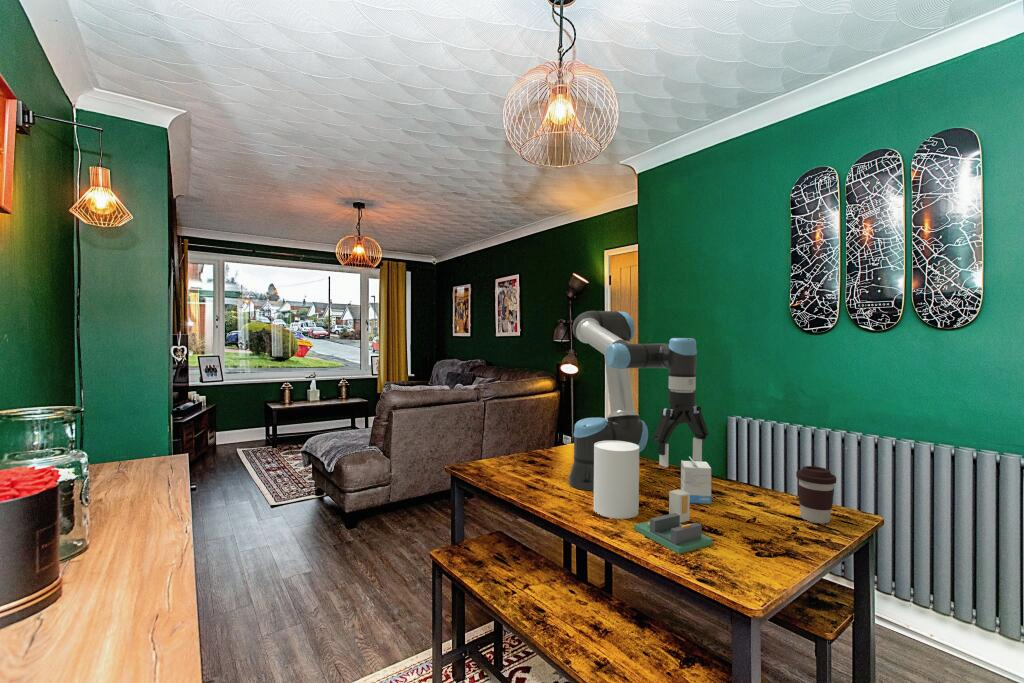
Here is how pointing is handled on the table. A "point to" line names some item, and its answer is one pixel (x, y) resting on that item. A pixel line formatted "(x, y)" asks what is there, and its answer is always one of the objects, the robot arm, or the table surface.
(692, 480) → the ink box
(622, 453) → the canister
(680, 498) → the plug
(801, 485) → the coffee cup
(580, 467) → the robot arm
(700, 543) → the board
